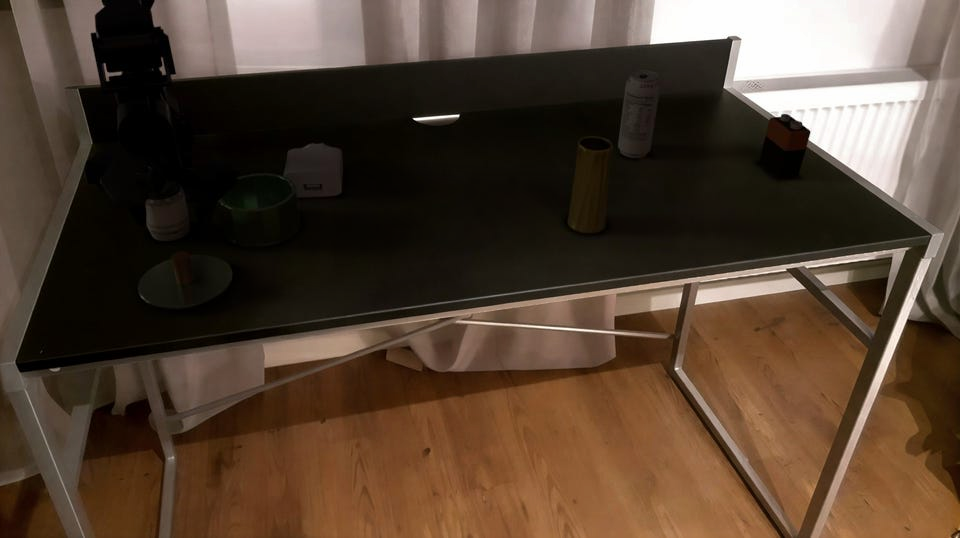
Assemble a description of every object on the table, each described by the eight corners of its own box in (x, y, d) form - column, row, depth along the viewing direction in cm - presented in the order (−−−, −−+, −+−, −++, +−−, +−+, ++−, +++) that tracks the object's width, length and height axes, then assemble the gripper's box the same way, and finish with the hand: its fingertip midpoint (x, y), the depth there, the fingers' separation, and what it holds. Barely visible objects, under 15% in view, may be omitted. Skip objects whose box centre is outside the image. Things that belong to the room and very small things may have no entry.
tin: (210, 241, 121) (202, 204, 118) (246, 204, 131) (240, 168, 127) (280, 252, 119) (274, 215, 115) (312, 214, 128) (308, 178, 125)
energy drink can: (654, 150, 150) (667, 73, 141) (642, 162, 146) (653, 84, 137) (625, 141, 152) (635, 66, 144) (612, 153, 148) (621, 76, 139)
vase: (580, 237, 124) (589, 155, 116) (559, 219, 129) (567, 138, 120) (613, 228, 127) (624, 147, 118) (591, 210, 131) (600, 131, 123)
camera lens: (141, 240, 121) (129, 195, 117) (161, 219, 126) (150, 175, 122) (180, 244, 120) (169, 199, 116) (199, 223, 126) (189, 179, 121)
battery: (777, 180, 141) (791, 128, 135) (757, 162, 146) (769, 112, 140) (799, 177, 142) (813, 126, 136) (778, 160, 147) (791, 110, 141)
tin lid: (120, 304, 108) (111, 274, 105) (172, 255, 118) (165, 225, 115) (204, 320, 106) (197, 289, 103) (249, 268, 116) (244, 238, 113)
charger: (344, 155, 146) (342, 196, 133) (293, 156, 145) (286, 198, 132) (342, 131, 143) (339, 170, 131) (290, 132, 142) (282, 172, 130)
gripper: (37, 140, 93) (74, 251, 102) (180, 161, 90) (205, 274, 99) (97, 103, 102) (126, 208, 111) (229, 121, 99) (248, 228, 107)
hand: (173, 229), depth 107 cm, fingers open, 9 cm apart
